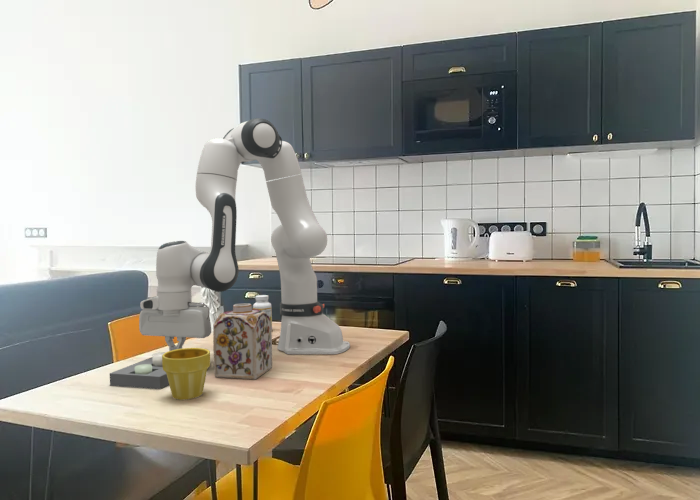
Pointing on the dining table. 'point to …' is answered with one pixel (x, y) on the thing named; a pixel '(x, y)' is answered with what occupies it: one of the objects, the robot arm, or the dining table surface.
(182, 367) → the plant pot
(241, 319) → the decorative jar
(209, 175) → the robot arm
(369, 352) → the dining table surface
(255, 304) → the supplement bottle
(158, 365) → the ivory button
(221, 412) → the dining table surface
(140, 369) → the sage button
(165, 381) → the button console
